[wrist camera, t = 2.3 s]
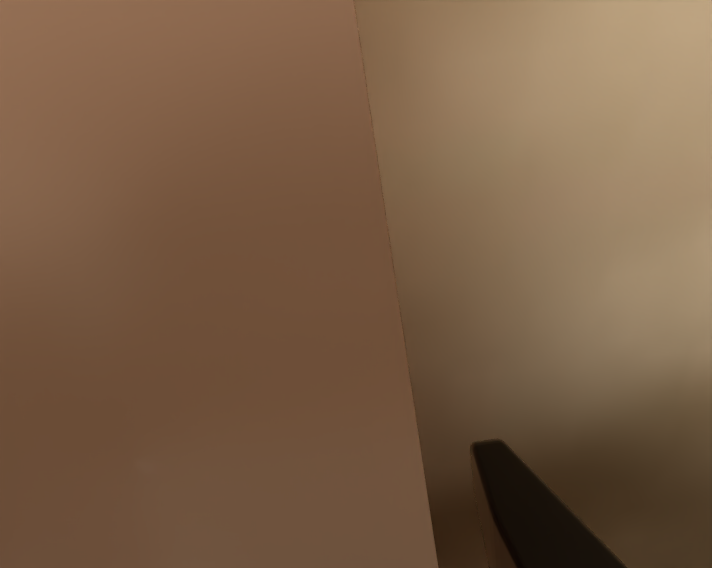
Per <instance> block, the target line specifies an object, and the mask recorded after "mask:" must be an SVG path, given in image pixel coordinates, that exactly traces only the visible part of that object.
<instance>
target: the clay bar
mask: <svg viewBox="0 0 712 568" xmlns="http://www.w3.org/2000/svg"><path fill="white" fill-rule="evenodd" d="M0 568H438V562H437V555H436V548H435V542H434V535H433V528H432V522H431V515H430V508H429V501H428V495H427V488H426V481H425V475H424V468H423V461H422V454H421V448H420V441H419V434H418V428H417V421H416V414H415V407H414V401H413V394H412V387H411V381H410V374H409V367H408V360H407V354H406V347H405V340H404V334H403V327H402V320H401V314H400V307H399V300H398V293H397V287H396V280H395V273H394V267H393V260H392V253H391V246H390V240H389V233H388V226H387V220H386V213H385V206H384V199H383V193H382V186H381V179H380V173H379V166H378V159H377V152H376V146H375V139H374V132H373V126H372V119H371V112H370V105H369V99H368V92H367V85H366V79H365V72H364V65H363V59H362V52H361V45H360V38H359V32H358V25H357V18H356V12H355V5H354V0H0Z"/></svg>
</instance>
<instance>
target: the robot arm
mask: <svg viewBox="0 0 712 568" xmlns="http://www.w3.org/2000/svg"><path fill="white" fill-rule="evenodd" d="M470 455H471V466H472V476H473V487H474V494H475V500H476V505H477V510H478V515H479V520H480V525H481V530H482V535H483V539H484V544H485V549H486V554H487V559H488V564H489V568H627V567H626V566H625V565H624V564H623V563H622V562H621V561H620V559H619V558H618V557H617V556H616V555H615V554H614V553H613V552H612V551H611V550H610V549H609V548H608V547H607V546H606V545H605V544H604V543H603V542H602V541H601V540H600V539H599V538H598V537H597V536H596V535H595V534H594V533H593V532H592V531H591V530H590V529H589V528H588V527H587V526H586V525H585V524H584V523H583V522H582V521H581V520H580V519H579V518H578V517H577V516H576V515H575V514H574V513H573V512H572V511H571V509H570V508H569V507H568V506H567V505H566V504H565V503H564V502H563V501H562V500H561V499H560V498H559V497H558V496H557V495H556V494H555V493H554V492H553V491H552V490H551V489H550V488H549V487H548V486H547V485H546V484H545V483H544V482H543V481H542V480H541V479H540V478H539V477H538V476H537V475H536V474H535V473H534V472H533V471H532V470H531V469H530V468H529V467H528V466H527V465H526V464H525V463H524V462H523V461H522V459H521V458H520V457H519V456H518V455H517V454H516V453H515V452H514V451H513V450H512V449H511V448H510V447H509V446H508V445H507V444H506V443H505V442H504V441H502V440H500V439H491V440H484V441H476V442H473V443H472V444H471V446H470Z"/></svg>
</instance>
